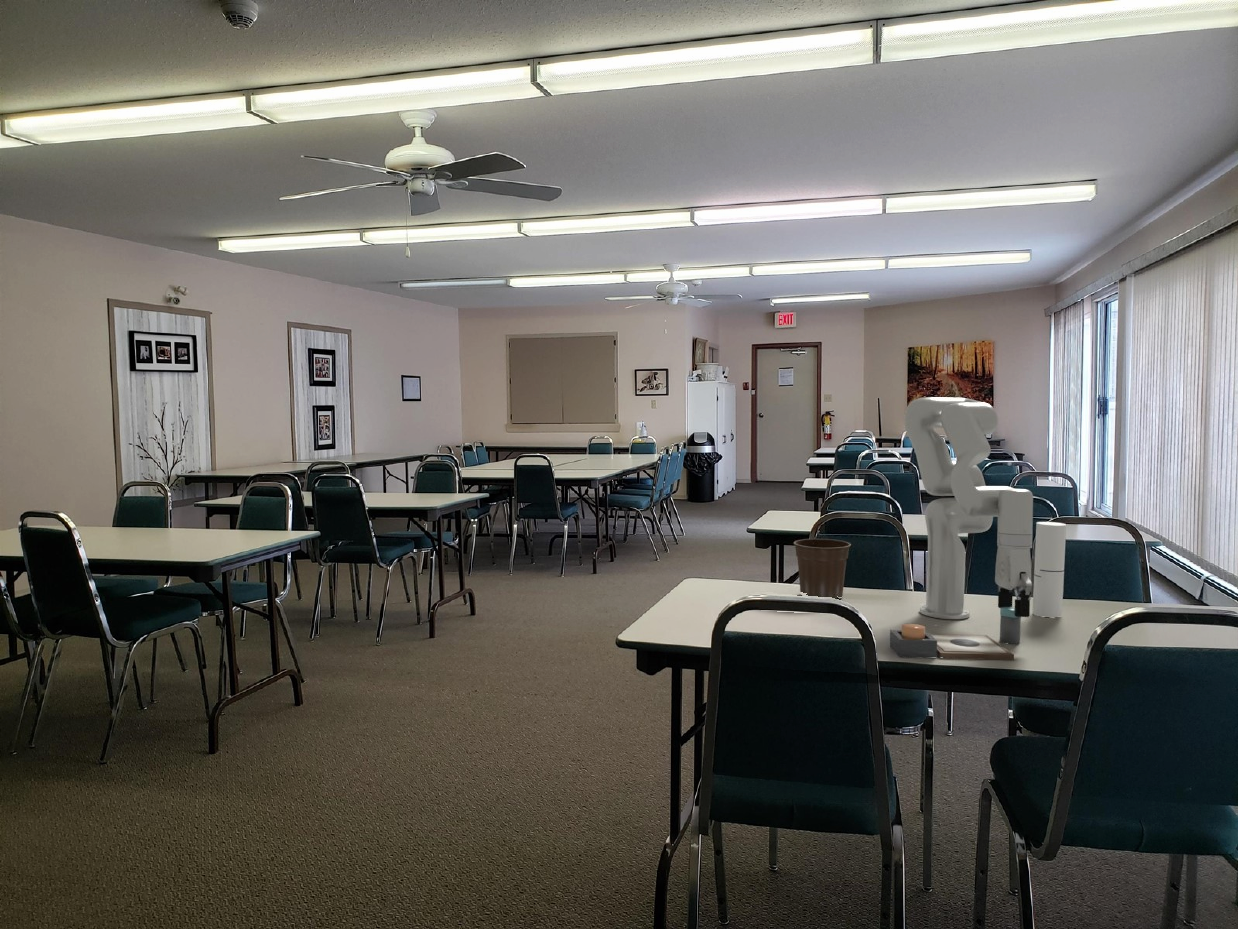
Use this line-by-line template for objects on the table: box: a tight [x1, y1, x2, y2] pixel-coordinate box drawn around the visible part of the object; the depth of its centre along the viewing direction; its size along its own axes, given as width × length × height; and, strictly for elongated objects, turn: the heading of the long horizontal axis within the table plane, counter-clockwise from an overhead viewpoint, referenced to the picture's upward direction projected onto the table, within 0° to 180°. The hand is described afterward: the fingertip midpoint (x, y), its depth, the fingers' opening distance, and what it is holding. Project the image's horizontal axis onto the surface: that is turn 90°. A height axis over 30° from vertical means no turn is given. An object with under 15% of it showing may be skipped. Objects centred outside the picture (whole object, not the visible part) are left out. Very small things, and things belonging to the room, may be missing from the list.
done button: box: [901, 623, 926, 639], centre depth 191 cm, size 5×5×4 cm
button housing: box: [889, 629, 938, 658], centre depth 191 cm, size 8×8×4 cm
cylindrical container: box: [1032, 521, 1067, 617], centre depth 227 cm, size 7×7×25 cm
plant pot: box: [793, 538, 852, 600], centre depth 246 cm, size 16×16×16 cm
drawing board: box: [929, 633, 1015, 661], centre depth 195 cm, size 16×16×2 cm
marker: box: [999, 606, 1022, 645], centre depth 201 cm, size 5×5×8 cm
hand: (1013, 612), depth 200 cm, fingers open, 9 cm apart
